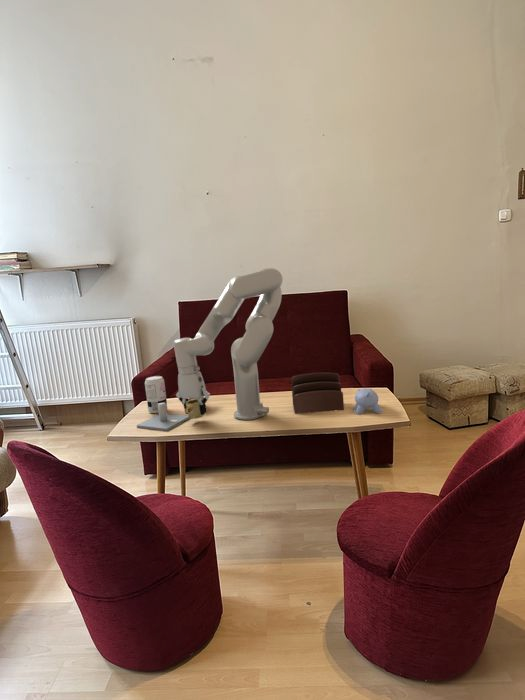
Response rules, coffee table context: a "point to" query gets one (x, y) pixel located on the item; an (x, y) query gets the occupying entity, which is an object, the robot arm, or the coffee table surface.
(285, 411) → the coffee table surface
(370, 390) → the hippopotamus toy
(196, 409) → the cup
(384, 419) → the coffee table surface
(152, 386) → the supplement can
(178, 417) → the post base
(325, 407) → the letter holder
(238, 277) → the robot arm
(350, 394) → the coffee table surface
